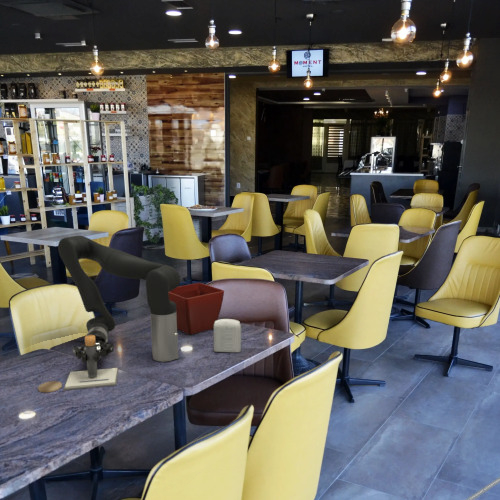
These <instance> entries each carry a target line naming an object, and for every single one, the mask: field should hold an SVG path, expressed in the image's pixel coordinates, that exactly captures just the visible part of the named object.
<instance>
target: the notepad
mask: <svg viewBox="0 0 500 500" xmlns="http://www.w3.org/2000/svg"><path fill="white" fill-rule="evenodd" d="M118 371H119V368H118V367H112V368H102V369H101V368H100V369H98V368H97V377H95V378H89V377H88V371H87V370H77V371H70V373H68V376H67V379H66V382H65V384H64V386H63V391H70V390H71V391H72V390H73V391H74V390H83V389H93V388H94V387H95V388H104V387H115V386H117V383H118V375H119V372H120V371H119V372H118Z"/></svg>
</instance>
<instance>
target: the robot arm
mask: <svg viewBox="0 0 500 500" xmlns="http://www.w3.org/2000/svg"><path fill="white" fill-rule="evenodd" d="M57 250H58V254H59V257H60V259H61V261H62V262H63V264H64V266H65V268H66V270H67V272H68V273H69V275H70V277H71V279H72V280H73V282H74V284H75V287H76V288H77V291H78V294H79V295H80V299H81V301H82V305H83V307H84V310H85V312H87V313H93V312H98V313H99V314H101V315H98V316H96V317H93V318H90V319H88V321H87V322H86V324H85V325H86V330H87V333H86V335H85V336H88V335H94V336H95V342H96V344H95V346H96V353H95V362H97V363H98V361H100V360H101V358H102V356H103V357H104V358H105V357H107V356H109V355H110V354H112V353H113V352H114V351H115V346H114V342H112V343H109V344H108V341H109V340H108V338H109V332H112V331H113V330H114V329H115V328H116V321H115V319H114V317H113V315H112V314H111V313H110V311H109V310H108V309H107V307H106V306H105V304H104V301H103V299H102V296H101V293H100V290H99V288H98V286H97V284H96V283H95V281H94V280H93V279H92V278H91V277H90V276H89V275H88V274H87V273H86V271H84V269H83V268H82V266H81V263H80V260H83V259H84V260H85V259H86V260H90V261H92V262H95V263H97V264H99V266H100V267H101V268H102V270H103V271H104V272H106V273H108V274H111V275H114V276H116V277H120V278H125V279H133V280H143V281H145V290H146V300H147V305H148V307H149V312H150V329H151V333H150V334H151V354H152V359H153V360H154V361H155V362H162V363H163V362H171V361H174V360H178V359H179V333H178V329H177V312H176V304H175V302H173V301H169V293H168V292H170V291H172V290H174V289H175V288H177V287H179V286H180V283H181V276H180V273H179V272H178V270H176V269H175V268H174V267H172V266H170V265H166V264H162V263H157V262H152V261H149V260H146V259H144V258H142V257H139V256H136V255H132V254H130V253H127V252H126V251H122V250H120V249H116V248H113V247H110V246H107V245H103V244H101V243H98V242H96V241H95V240H93V239H90V238H88V237H86V236H83V235H73V236H67V237H62V238H61V239H60V240H59V242H58V245H57ZM72 350H73V351H72V353H73V355H74V356H75V357H76V359H78V360H79V359H81V362H83V364H85V363H86V364H87V356H86V346H85V339H84V341H83V343H82V344H80V347H79V346H77V345H74V346H72Z"/></svg>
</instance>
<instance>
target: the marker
mask: <svg viewBox="0 0 500 500" xmlns="http://www.w3.org/2000/svg"><path fill="white" fill-rule="evenodd" d="M84 340H85V346H86V356H87V361H86V367H87V369H86V371H88V377H89V378H95V377H97V370H98V362H95V353H96V346H95V344H96V342H95V336H94V335H88V336H86V335H85V336H84Z"/></svg>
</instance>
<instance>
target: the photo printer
mask: <svg viewBox="0 0 500 500" xmlns="http://www.w3.org/2000/svg"><path fill="white" fill-rule="evenodd" d="M240 323H241V322H240V321H239V320H237V319H234V318H233V319H231V318H221V319H218V320H217V321H215V324H214V329H213V351H214V352H216V353H240V352H241V351H242V325H241V324H240Z"/></svg>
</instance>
